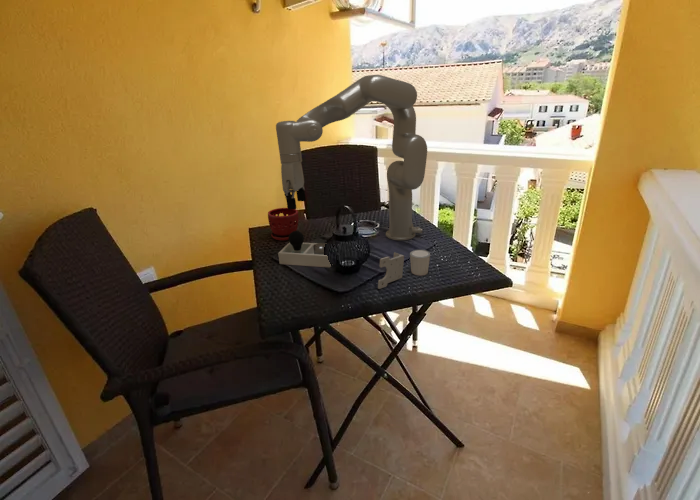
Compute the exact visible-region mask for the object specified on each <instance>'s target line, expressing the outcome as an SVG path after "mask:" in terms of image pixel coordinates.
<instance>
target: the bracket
mask: <svg viewBox="0 0 700 500" xmlns="http://www.w3.org/2000/svg"><path fill="white" fill-rule="evenodd" d="M404 262H405V255H403V254H400V253H398V252H393V257H391V258H390V256H385V257H382V258H380V259H379V268H385V269H386V271H385V275H384V277H382V278H380V279H378V280H377V281H378V282H377V289H379V290H380V289H383V288H386V287H387V286H388V284H389V283H392V282H394V281H395V282H396V281H398V280H400V279H402V278H403V272H404Z"/></svg>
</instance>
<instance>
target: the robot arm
mask: <svg viewBox="0 0 700 500" xmlns="http://www.w3.org/2000/svg"><path fill="white" fill-rule="evenodd" d="M417 100H418V91H417V89H416V88H415V86H414V85H413V84H412V83H410V82H406V81H403V80H399V79H396V78H392V77H389V76H385V75H382V74H368V75H364V76H362V77H361V78H359V79H358V80H356V81H355V82H353V83H351V84H350V85H349V86H348V87H346V88H345V89H343V90H341V91H340V92H339V93H337V94H336V95H334V96H332V97H331V98H329V99H327V100H325V101H324V102H323V103H320V104H319V105H317V106H315V107H314V108H312V109H310V110H309V111H306V113H305V114H303V115H302V116H300V117H299V118H297V120H296V121H295V120H284V121H283V120H282V121H278V122H277V123H276V124H275V129H276V137H277V146H278V152H279V153H278V154H279V159H280V164H281V165H280V171H281V173H280V174H281V185H282V190H283V193H284V196H285V200H286V205H287V207H286V208H288V209H296V210H297V201H298V202H306V199H307V198H306V191H305V190H306V189H305V177H304V176H305V175H304V170H303V165H302V162H303V158H302V157H303V156H302V150H301V148H302V147H301V142H309V143H310V142H311V143H312V142H313V143H314V142H316V141H318V140H319V139H320V138H321V137H322V136H323V131H324V130H323V128H324V127H326V126H328V125H330V124H332V123H335V122H339V121H343V120H346V119H348V118H350V117H351V116H352V115H354V114H355V113H357V112H358V111H359V110H361V109H362V108H364V107H366V106H367V105H368V104H369V103H371V102H377V103H380V104H383V105H385V106H386V107H387V109H389V110H390V112H391V114H392V118H393V132H392V142H391V145H392V146H391V151H392V153H393V154H394V155H395V156H396V157H398V158H401V159H403V160H395V161H393V162H391V163H390V164H389V165H388V167H387V170H386V181H387V186H388V187H387V188H388V210H389V211H388V213H389V215H388V216H389V217H388V219H389V221H388V223H389V225H388V230H387V231H386V232H385V237H386V238H387V239H390V240H393V241H408V240H411V239H413V238H415V237H416V234H423V228H421V227H420V226H414V223H413V220H412V219H413V191H412V190H417V189H418V188H420V186H422V184H423V182H424V179H425V175H426V174H425V173H426V167H427V157H428V145H427V142H426V140H425V138H424V137H423V136H421V135H419V134H416V130H417V129H416V128H417V115H416V110H415V107H414V106H415V104H416V102H417ZM295 194H296V197H295ZM296 200H297V201H296Z"/></svg>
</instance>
